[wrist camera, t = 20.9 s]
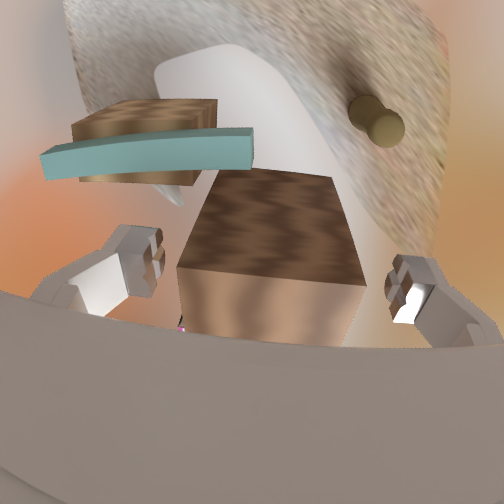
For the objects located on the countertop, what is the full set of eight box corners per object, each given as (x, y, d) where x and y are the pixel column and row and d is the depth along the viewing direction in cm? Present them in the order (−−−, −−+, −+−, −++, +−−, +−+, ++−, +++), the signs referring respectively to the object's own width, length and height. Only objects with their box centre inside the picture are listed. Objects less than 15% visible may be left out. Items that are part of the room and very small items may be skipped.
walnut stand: (220, 227, 56) (186, 343, 36) (221, 165, 49) (176, 266, 28) (318, 237, 56) (335, 357, 35) (331, 177, 49) (366, 286, 28)
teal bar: (60, 169, 35) (46, 180, 32) (55, 145, 33) (39, 155, 30) (253, 158, 33) (250, 169, 30) (253, 127, 31) (250, 136, 28)
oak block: (125, 145, 48) (79, 181, 36) (122, 100, 43) (71, 124, 31) (215, 147, 47) (192, 186, 35) (217, 99, 43) (191, 120, 31)
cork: (361, 87, 39) (384, 98, 31) (392, 109, 41) (419, 127, 32) (340, 118, 43) (357, 137, 34) (371, 138, 44) (393, 163, 35)
